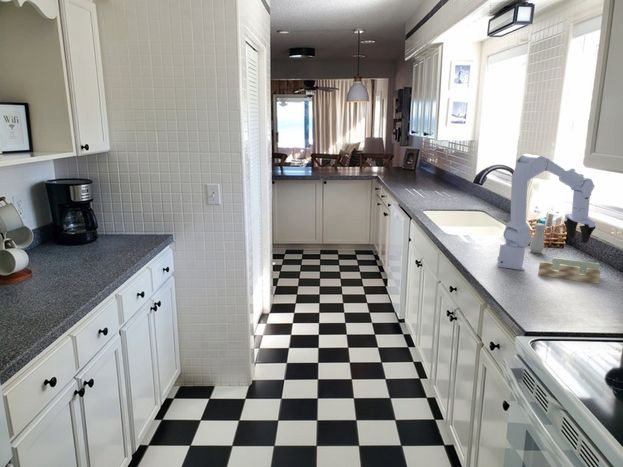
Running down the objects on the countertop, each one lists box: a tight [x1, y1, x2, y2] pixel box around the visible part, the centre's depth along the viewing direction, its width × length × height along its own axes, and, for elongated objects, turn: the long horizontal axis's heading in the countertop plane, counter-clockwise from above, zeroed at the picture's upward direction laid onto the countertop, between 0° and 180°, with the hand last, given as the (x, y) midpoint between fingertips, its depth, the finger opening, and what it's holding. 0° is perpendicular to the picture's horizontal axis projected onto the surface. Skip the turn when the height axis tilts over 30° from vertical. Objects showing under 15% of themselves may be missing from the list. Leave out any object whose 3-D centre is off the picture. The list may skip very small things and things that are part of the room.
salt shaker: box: [528, 222, 546, 255], centre depth 209 cm, size 6×6×13 cm
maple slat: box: [537, 261, 602, 284], centre depth 176 cm, size 20×1×5 cm, turn 68°
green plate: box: [551, 257, 600, 274], centre depth 183 cm, size 16×1×5 cm, turn 68°
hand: (578, 239), depth 192 cm, fingers open, 7 cm apart
